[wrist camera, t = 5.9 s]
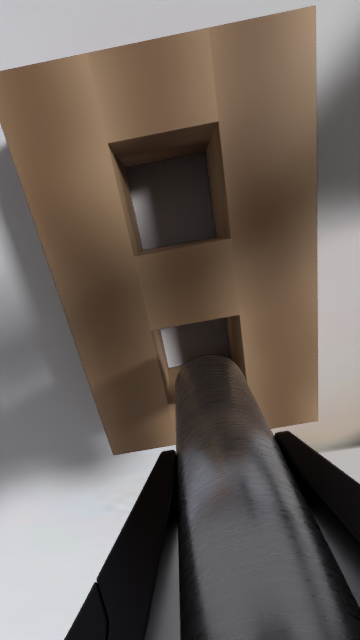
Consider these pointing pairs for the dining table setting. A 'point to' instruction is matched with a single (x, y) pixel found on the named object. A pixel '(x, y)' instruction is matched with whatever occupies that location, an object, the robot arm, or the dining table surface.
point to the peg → (247, 523)
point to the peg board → (191, 257)
